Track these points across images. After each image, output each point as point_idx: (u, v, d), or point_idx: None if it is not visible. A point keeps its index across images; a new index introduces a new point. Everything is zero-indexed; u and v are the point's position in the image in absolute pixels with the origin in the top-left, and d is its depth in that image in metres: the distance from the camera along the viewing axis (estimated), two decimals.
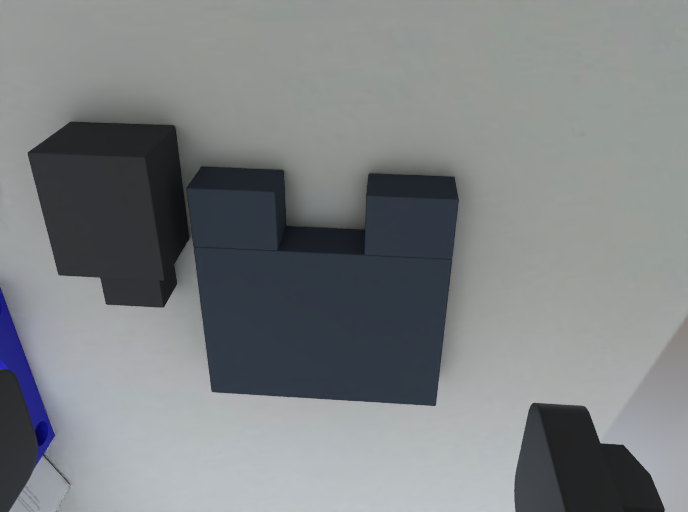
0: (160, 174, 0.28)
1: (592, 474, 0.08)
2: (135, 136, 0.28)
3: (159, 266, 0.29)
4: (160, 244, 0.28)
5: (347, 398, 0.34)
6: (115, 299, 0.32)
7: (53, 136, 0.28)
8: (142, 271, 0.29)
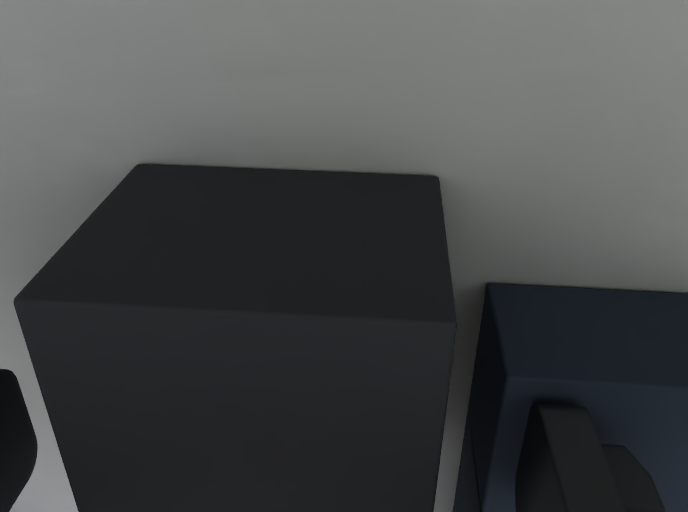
0: None
1: (593, 474, 0.08)
2: (353, 218, 0.09)
3: None
4: None
5: None
6: None
7: (97, 219, 0.09)
8: None
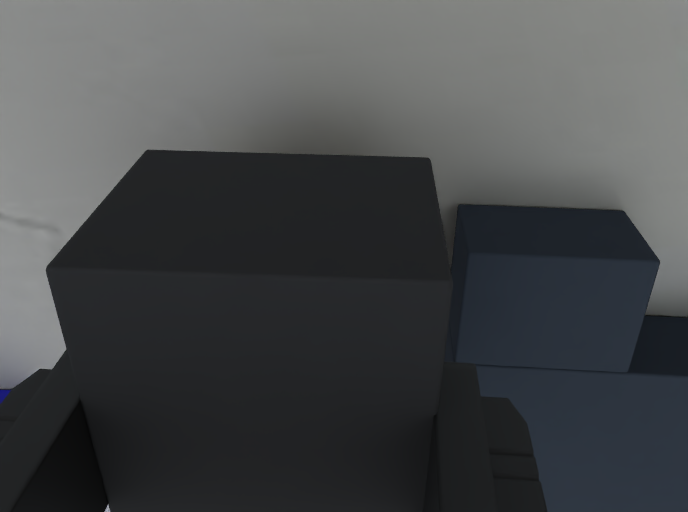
0: None
1: (467, 419, 0.09)
2: (355, 194, 0.10)
3: None
4: None
5: None
6: None
7: (114, 198, 0.09)
8: None
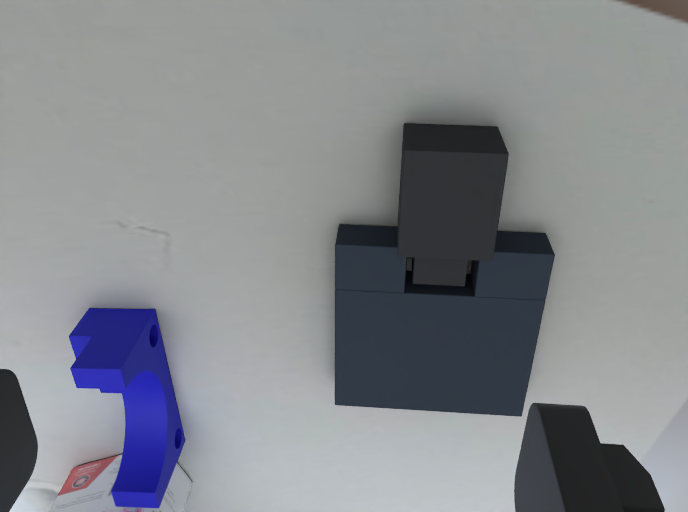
0: None
1: (592, 474, 0.08)
2: (477, 135, 0.33)
3: (492, 248, 0.33)
4: None
5: (448, 410, 0.41)
6: (422, 279, 0.36)
7: (407, 136, 0.32)
8: (475, 252, 0.33)
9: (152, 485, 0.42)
